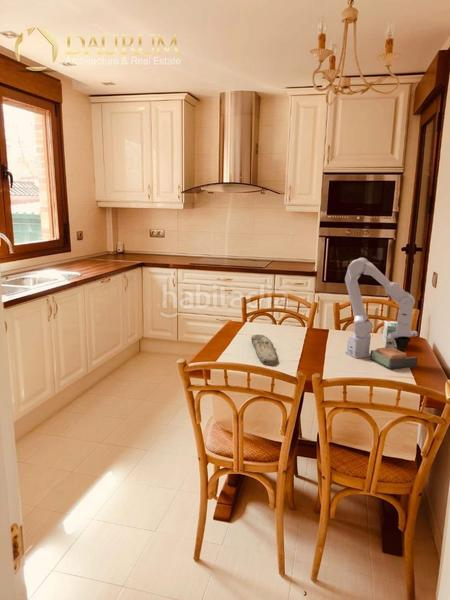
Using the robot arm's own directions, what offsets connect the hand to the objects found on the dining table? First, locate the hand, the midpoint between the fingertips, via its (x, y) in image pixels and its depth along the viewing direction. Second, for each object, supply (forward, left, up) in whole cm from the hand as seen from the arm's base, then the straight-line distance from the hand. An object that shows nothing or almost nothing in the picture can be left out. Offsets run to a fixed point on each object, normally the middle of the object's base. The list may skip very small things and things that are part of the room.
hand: (400, 352), depth 187 cm
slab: (-5, 0, -1) cm, 5 cm away
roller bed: (-3, 0, -4) cm, 6 cm away
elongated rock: (-52, +29, -5) cm, 60 cm away
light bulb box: (+14, +21, -5) cm, 25 cm away
